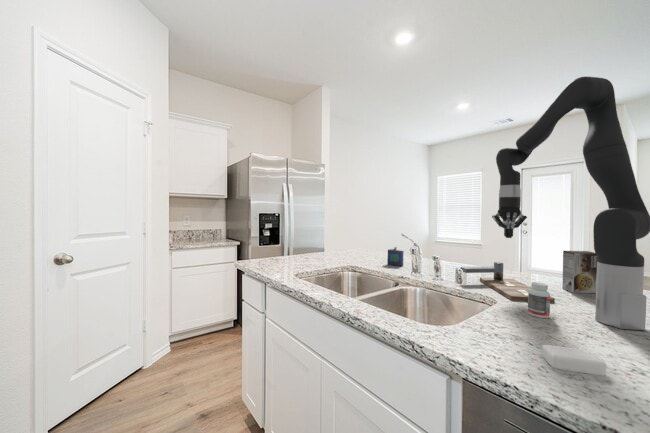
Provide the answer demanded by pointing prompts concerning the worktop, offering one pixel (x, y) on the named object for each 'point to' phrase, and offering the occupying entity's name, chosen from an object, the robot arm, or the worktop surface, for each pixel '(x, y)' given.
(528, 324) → the worktop surface
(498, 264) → the swing arm
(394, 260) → the flask
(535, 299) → the pill bottle
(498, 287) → the label board
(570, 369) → the soap
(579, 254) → the coffee box
